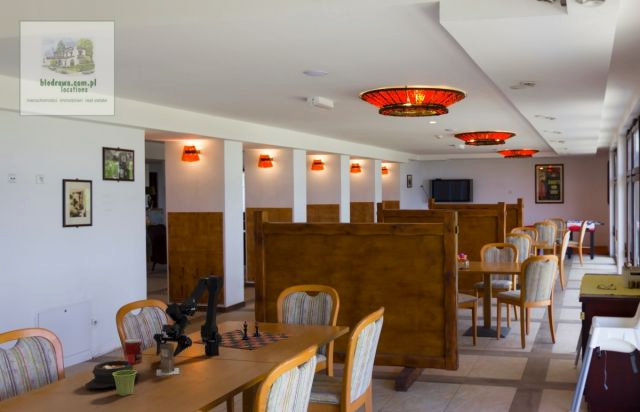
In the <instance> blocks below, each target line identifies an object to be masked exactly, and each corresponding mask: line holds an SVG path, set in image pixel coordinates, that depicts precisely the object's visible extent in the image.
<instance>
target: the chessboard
mask: <svg viewBox="0 0 640 412" xmlns="http://www.w3.org/2000/svg"><path fill="white" fill-rule="evenodd" d="M259 324H260V321H259V320H258V321H257V320H256V321H254V327H255V331H256V333H251V332H250V333H247V330H249V329H248V323H247V321H246V320H245V321H244V323H243V328H242V329H243V330H244V333H243V332H242V331H241V330H238V329H235V330H231V331H228V332H224V333H221V334H220V333H219V334H220V336H221V337H222V342H220V343H219V347H225V348H231V349H240V350H247V349H248V351H254V350H257V349H259V348H262V347H265V346H268V345H271V344H275V343H276V342H279V341H283V340H285V339H288V338H290V337H293V336H295V334H291V333H290V334H289V333H282V335H280V334H279V335H278V334H276V335H275V334H270V333H264V332H265V331H263V332H258V331H259V328H260V326H259ZM193 343H194V344H200V345H206V342H202V339H198V340H196V341H195V340H194V341H193Z"/></svg>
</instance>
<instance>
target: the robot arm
mask: <svg viewBox="0 0 640 412" xmlns="http://www.w3.org/2000/svg"><path fill="white" fill-rule="evenodd" d="M223 285H224V279H223V277H222V276H221V275H209V276H208V277H200V278H199V279H198V282H197V284H196V286H195V287H194V288H193V290H192V291H191V294H190V295H189V297H188V298H187V299H185V300H183V301H182V303H181V304H180V305H178V303H177V302H173V303H172V304H170V305H168V306H167V307H166V308H165V314H166V315H167V317H168V318H169V319H170V320H171V321H172V322H173V324H167V323H165V324H162V329H161V332H164V333H165V335H166V336H165V335H164V334H163V333H161V332H160V333H157V332H156V333H154V334H153V336H152V339H153V340H154V341H155V342H156V354H155V355H156V356H159V355H161V352H160V345H162V344H164V343H168V342H169V343H177V345H176V347H175V348H174V354H173V356H174V358H176V357H177V356H178V355H180V354H181V352H183V351H185V350H186V349H189V348H191V347H192V345H193V340H192V339H191V337H190V336H189V334H188V335H186V334H185V329H186V327H187V325H191V321H190V318H188V317H194V315H195V314H196V313H197V310H198V303H199V301H200V300H201V298H202V296H203V295H204V293H205V292H206V291H207V293H208V294H207V295H208V296H207V297H208V298H207V303H206V304H207V305H206V316H205V322H204V324H202V325H201V327H200V331H199V333H200V338H201V340H202V342H206V344H204V354H205V356H206V357H210V356H220V350H219V349H220V346H219V343H220V342H222V337H221V336H220V333H219V326H218V324H217V315H218V312H217V311H218V300H219V295H220V292H221V291H222V289H223Z"/></svg>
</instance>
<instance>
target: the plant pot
mask: <svg viewBox="0 0 640 412" xmlns="http://www.w3.org/2000/svg"><path fill="white" fill-rule="evenodd" d="M136 373H138V372H137V370H133V369H132V370H123V371H117V372H114V373H113V376H114V379H115V383H116V387H115V388H116V393H117V395H118V396H120V397H121V396H124V397H125V396H128V395H132V394H134V386H135V379H136V378H135V374H136Z"/></svg>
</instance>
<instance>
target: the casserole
mask: <svg viewBox="0 0 640 412" xmlns="http://www.w3.org/2000/svg"><path fill="white" fill-rule="evenodd" d="M133 369H134V367H133V365H132V364H131V363H130V362H127V361H126V360H110V361H105V362H101V363H97V364H96V365H94V367H93V370H92V371H91V373H92V374H93V376H94V378H93V379H91V380H90V381H88V382H87V383H85V384H84V385H85V387H87V388H91V389H92V388H93V389H106V388H116V383H115V379H114V376H113V373H114V372H117V371H123V370H133ZM139 376H140V373H138V372H137V373H136V374H135V379H136V378H138V377H139Z"/></svg>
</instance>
